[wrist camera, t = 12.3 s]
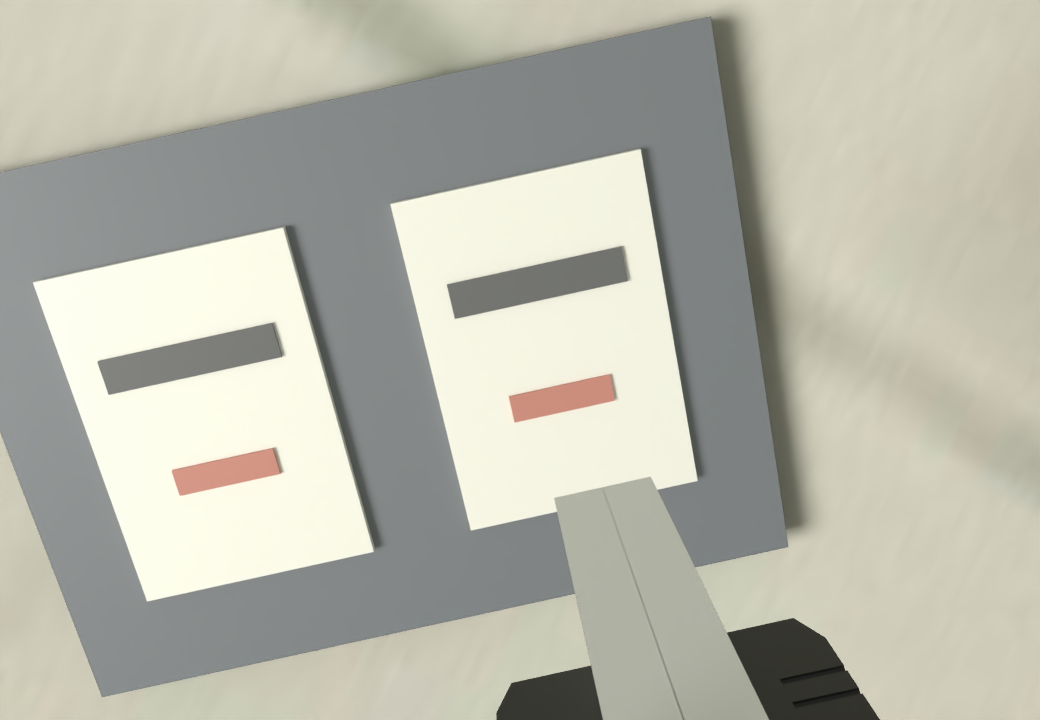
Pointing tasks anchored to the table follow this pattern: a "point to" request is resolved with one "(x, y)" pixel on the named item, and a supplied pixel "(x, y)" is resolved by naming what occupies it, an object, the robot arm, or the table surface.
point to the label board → (381, 354)
